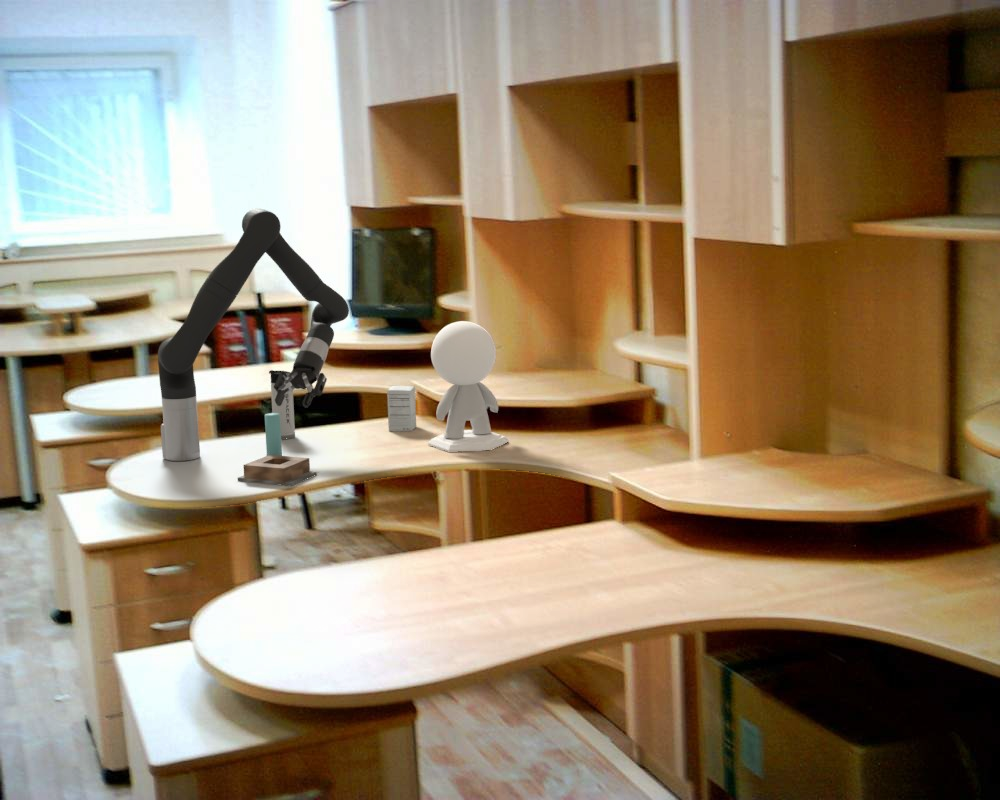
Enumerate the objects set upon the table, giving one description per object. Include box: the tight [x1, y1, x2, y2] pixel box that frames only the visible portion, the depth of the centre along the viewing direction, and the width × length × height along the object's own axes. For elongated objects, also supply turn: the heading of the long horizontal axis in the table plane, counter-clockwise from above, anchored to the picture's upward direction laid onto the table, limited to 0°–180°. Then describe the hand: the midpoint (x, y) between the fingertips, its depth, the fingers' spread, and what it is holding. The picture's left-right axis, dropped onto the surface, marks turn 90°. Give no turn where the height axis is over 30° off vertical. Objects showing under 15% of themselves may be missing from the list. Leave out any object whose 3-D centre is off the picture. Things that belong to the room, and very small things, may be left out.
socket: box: [237, 455, 318, 487], centre depth 321 cm, size 16×12×4 cm
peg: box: [264, 412, 283, 456], centre depth 333 cm, size 4×4×14 cm
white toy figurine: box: [427, 320, 510, 453], centre depth 354 cm, size 20×23×35 cm
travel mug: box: [268, 369, 296, 440], centre depth 369 cm, size 6×7×20 cm
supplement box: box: [386, 385, 417, 432], centre depth 378 cm, size 7×7×13 cm
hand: (291, 405), depth 340 cm, fingers open, 8 cm apart
